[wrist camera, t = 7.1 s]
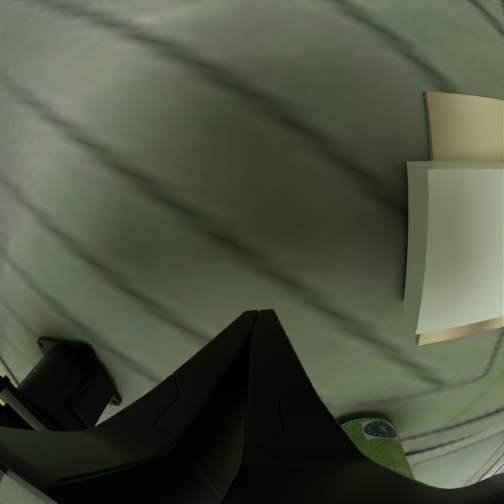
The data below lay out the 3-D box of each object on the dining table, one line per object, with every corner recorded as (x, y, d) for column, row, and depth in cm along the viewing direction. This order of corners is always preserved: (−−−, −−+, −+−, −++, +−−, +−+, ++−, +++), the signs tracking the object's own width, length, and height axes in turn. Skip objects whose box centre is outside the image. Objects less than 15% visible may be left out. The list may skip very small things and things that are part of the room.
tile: (415, 334, 11) (537, 306, 10) (428, 169, 9) (560, 172, 7) (401, 304, 13) (516, 284, 12) (405, 160, 11) (531, 162, 9)
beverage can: (301, 439, 20) (287, 579, 9) (367, 389, 16) (384, 568, 6) (358, 455, 20) (361, 575, 9) (424, 411, 17) (451, 551, 6)
